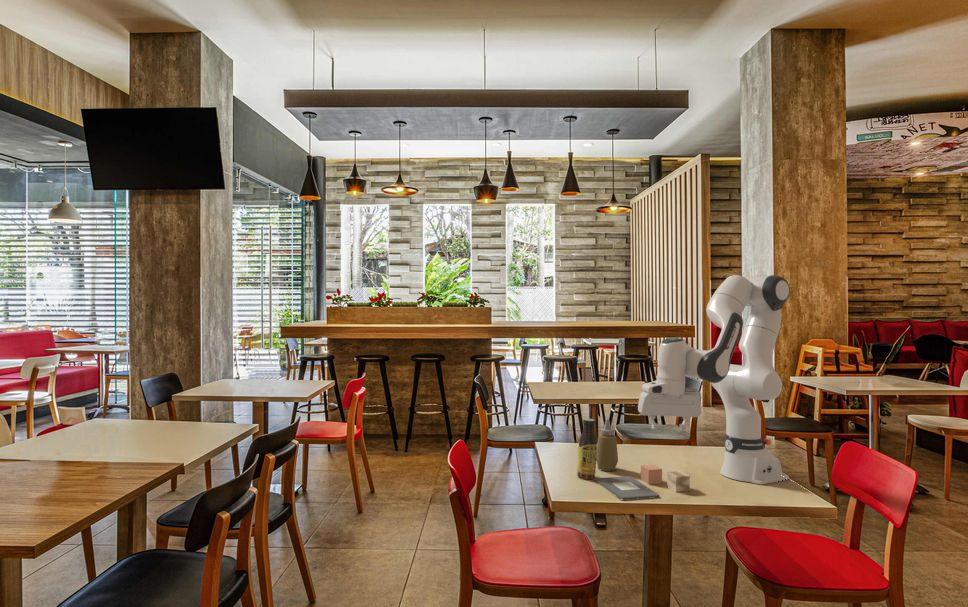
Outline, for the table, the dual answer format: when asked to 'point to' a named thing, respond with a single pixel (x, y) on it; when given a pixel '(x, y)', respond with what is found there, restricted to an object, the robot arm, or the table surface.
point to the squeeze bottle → (607, 449)
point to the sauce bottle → (587, 451)
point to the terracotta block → (651, 474)
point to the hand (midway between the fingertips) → (668, 429)
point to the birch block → (678, 481)
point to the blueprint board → (626, 487)
